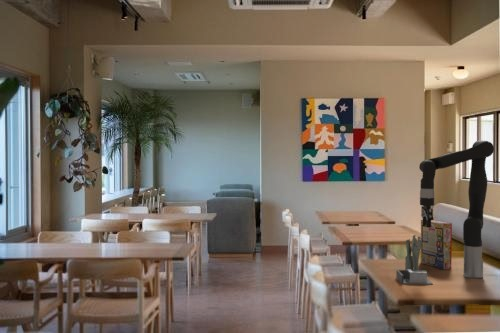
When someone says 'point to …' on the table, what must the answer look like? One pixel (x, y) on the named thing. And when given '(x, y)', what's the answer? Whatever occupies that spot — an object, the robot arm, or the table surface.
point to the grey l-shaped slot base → (402, 277)
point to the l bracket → (416, 276)
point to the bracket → (412, 261)
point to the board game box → (436, 244)
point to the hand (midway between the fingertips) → (426, 226)
